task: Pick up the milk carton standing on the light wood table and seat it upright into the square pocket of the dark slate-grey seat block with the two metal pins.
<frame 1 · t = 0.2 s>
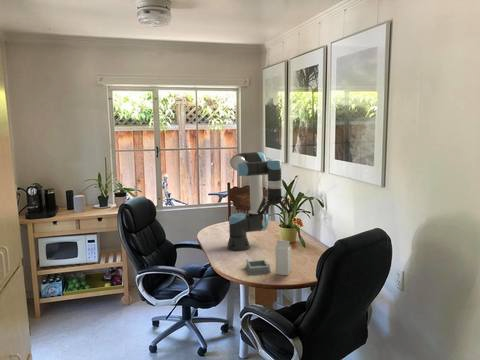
hand: (275, 224, 215), 28 cm above the table, fingers open, 13 cm apart
seat block: (258, 269, 223), on the table
milk carton: (283, 273, 218), on the table
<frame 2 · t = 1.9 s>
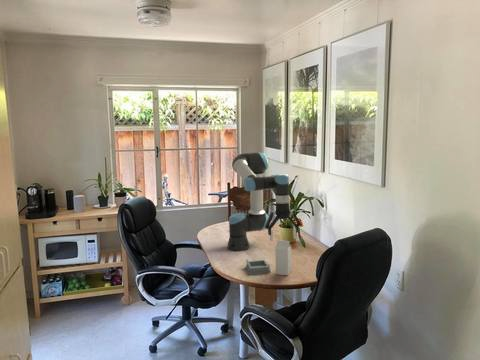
hand: (283, 239, 214), 20 cm above the table, fingers open, 13 cm apart
nothing on the table moved.
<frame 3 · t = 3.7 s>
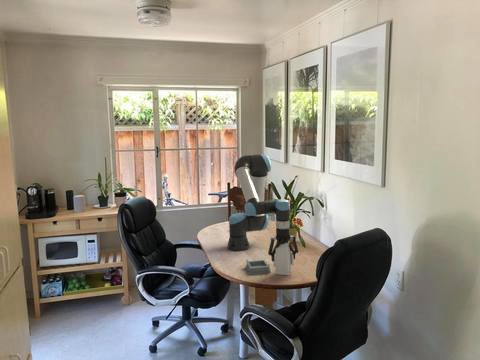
hand: (283, 265, 217), 4 cm above the table, fingers closed on milk carton, 10 cm apart
milk carton: (283, 273, 218), on the table, touching gripper
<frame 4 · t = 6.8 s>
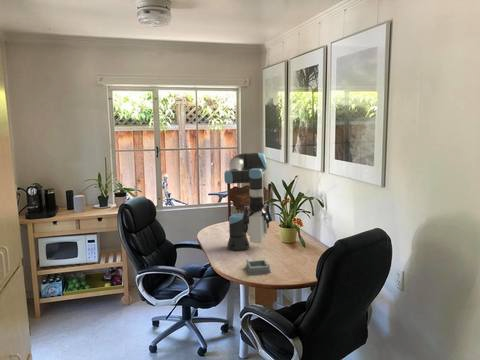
hand: (257, 234, 220), 21 cm above the table, fingers closed on milk carton, 10 cm apart
milk carton: (257, 241, 220), point 17 cm above the table, touching gripper
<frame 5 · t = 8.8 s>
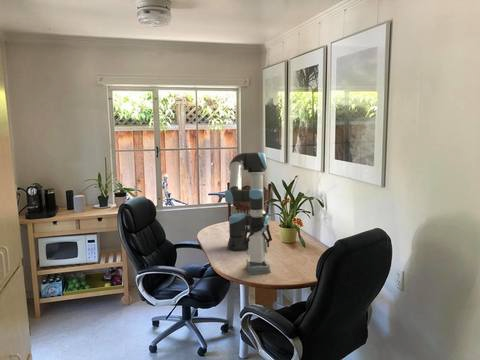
hand: (257, 253, 221), 10 cm above the table, fingers closed on milk carton, 10 cm apart
milk carton: (257, 260, 222), point 6 cm above the table, touching gripper
when the fingers open (7 cm above the table, at t = 10.1 s): milk carton stays where it is, resting on seat block.
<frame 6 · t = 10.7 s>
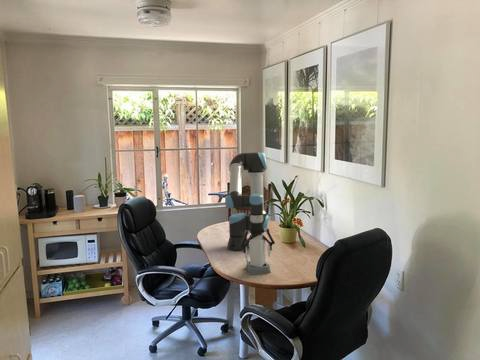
hand: (257, 257, 222), 8 cm above the table, fingers open, 13 cm apart
milk carton: (258, 264, 222), point 3 cm above the table, touching seat block
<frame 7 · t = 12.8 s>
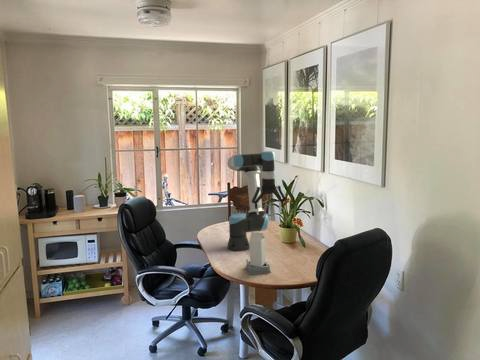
hand: (269, 213, 226), 31 cm above the table, fingers open, 13 cm apart
nothing on the table moved.
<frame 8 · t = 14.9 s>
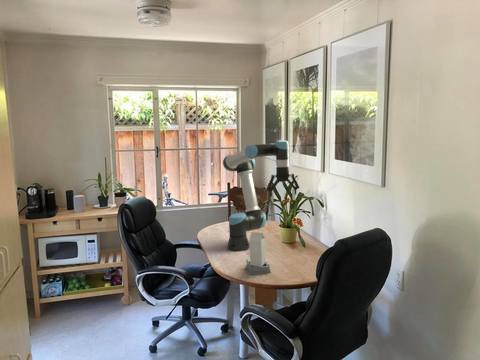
hand: (283, 200, 235), 37 cm above the table, fingers open, 13 cm apart
nothing on the table moved.
at the end: milk carton 0.1 cm from the seat block (horizontally); milk carton tilted 0°; the gripper is holding nothing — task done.
